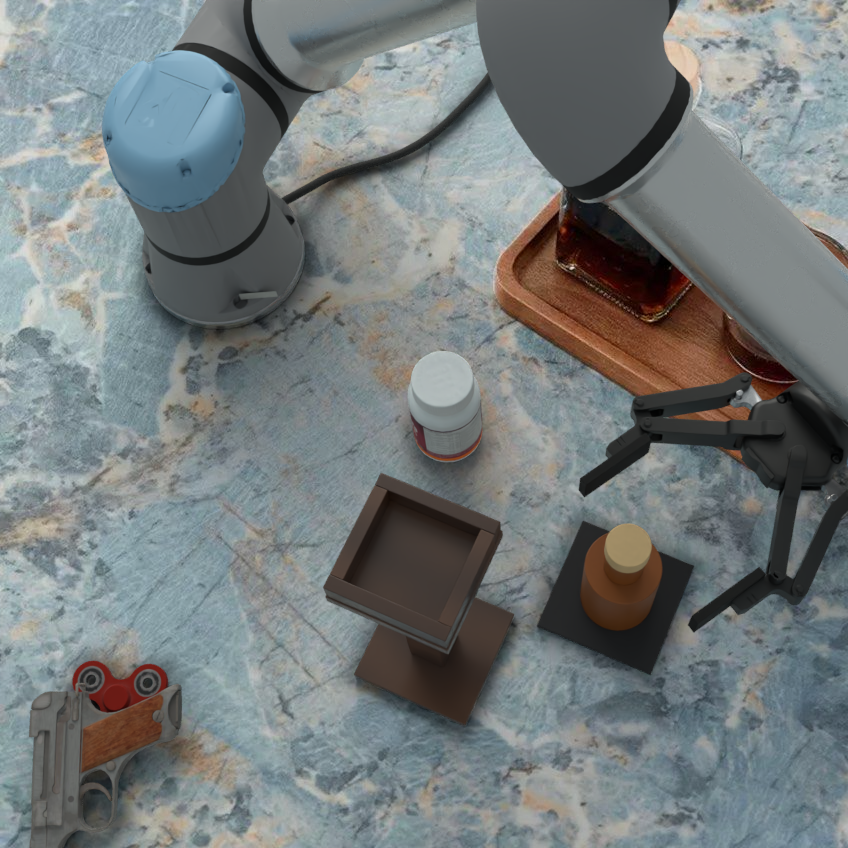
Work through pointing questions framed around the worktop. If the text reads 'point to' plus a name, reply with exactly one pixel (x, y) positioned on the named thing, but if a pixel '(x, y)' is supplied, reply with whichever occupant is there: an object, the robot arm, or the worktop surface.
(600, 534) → the mat
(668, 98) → the robot arm
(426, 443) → the pill bottle
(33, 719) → the pistol
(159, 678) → the fidget spinner
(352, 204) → the worktop surface
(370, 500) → the holder
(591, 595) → the bottle
